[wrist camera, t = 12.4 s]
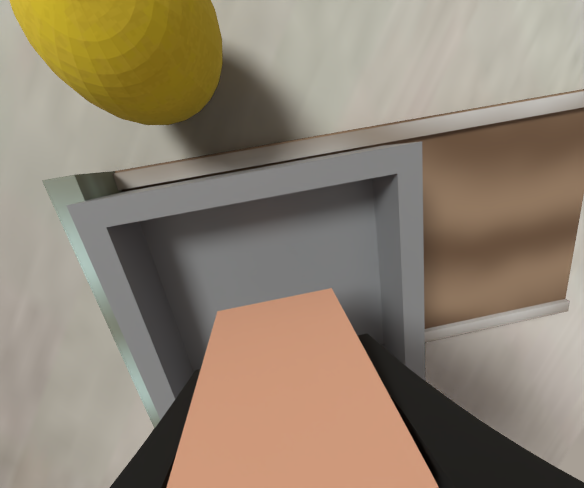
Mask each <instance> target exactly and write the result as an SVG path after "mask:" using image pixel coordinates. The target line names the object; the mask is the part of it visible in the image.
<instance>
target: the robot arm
mask: <svg viewBox="0 0 584 488" xmlns="http://www.w3.org/2000/svg"><path fill="white" fill-rule="evenodd" d="M357 336H358V338H359V340H360V342H361V344H362V345H363V347H364V349H365V351H366V353H367V355H368V357H369V358H370V360H371V362H372V364H373V366H374V368H375V370H376V371H377V373H378V375H379V377H380V379H381V381H382V383H383V384H384V386H385V388H386V390H387V392H388V394H389V396H390V397H391V399H392V401H393V403H394V405H395V407H396V409H397V410H398V412H399V414H400V416H401V418H402V420H403V422H404V423H405V425H406V427H407V429H408V431H409V433H410V435H411V436H412V438H413V440H414V442H415V444H416V446H417V448H418V449H419V451H420V453H421V455H422V457H423V459H424V461H425V462H426V464H427V466H428V468H429V470H430V472H431V474H432V475H433V477H434V479H435V481H436V483H437V485H438V487H439V488H584V483H583V482H582V481H580V480H578V479H576V478H574V477H572V476H571V475H569V474H567V473H565V472H564V471H562V470H560V469H558V468H556V467H555V466H553V465H551V464H549V463H548V462H546V461H544V460H543V459H541V458H539V457H538V456H536V455H534V454H533V453H531V452H529V451H528V450H526V449H524V448H523V447H521V446H519V445H518V444H516V443H515V442H513V441H511V440H510V439H508V438H507V437H505V436H503V435H502V434H500V433H499V432H497V431H495V430H494V429H492V428H491V427H489V426H488V425H486V424H485V423H483V422H482V421H480V420H479V419H477V418H476V417H474V416H473V415H471V414H470V413H468V412H467V411H466V410H464V409H463V408H461V407H460V406H459V405H457V404H456V403H454V402H453V401H451V400H450V399H449V398H447V397H446V396H444V395H443V394H442V393H440V392H439V391H438V390H436V389H435V388H434V387H432V386H431V385H430V384H428V383H427V382H426V381H425V380H423V379H422V378H421V377H419V376H418V375H417V374H416V373H414V372H413V371H412V370H410V369H409V368H408V367H407V366H406V365H404V364H403V363H402V362H401V361H399V360H398V359H397V358H396V357H395V356H393V355H392V354H391V353H390V352H389V351H388V350H386V349H385V348H384V347H383V346H382V345H381V344H379V343H378V342H377V341H376V340H375V339H374V338H373V337H371V336H370V335H369V334H367V333H366V334H362V335H357ZM200 370H201V369H198V370H196V371H195V372H194V373H193V375H192V376H191V378H190V379H189V380H188V382H187V383H186V385H185V386H184V387H183V389H182V390H181V392H180V393H179V395H178V396H177V397H176V399H175V400H174V402H173V403H172V405H171V406H170V407H169V409H168V410H167V412H166V413H165V415H164V416H163V417H162V419H161V420H160V422H159V423H158V424H157V426H156V427H155V428H154V430H153V431H152V433H151V434H150V435H149V437H148V438H147V440H146V441H145V442H144V444H143V445H142V446H141V448H140V449H139V450H138V452H137V453H136V454H135V456H134V457H133V458H132V459H131V461H130V462H129V463H128V465H127V466H126V467H125V469H124V470H123V471H122V472H121V474H120V475H119V476H118V478H117V479H116V480H115V481H114V483H113V484H112V485H111V487H110V488H167V484H168V481H169V477H170V474H171V470H172V467H173V464H174V460H175V457H176V453H177V450H178V446H179V443H180V439H181V436H182V432H183V429H184V425H185V422H186V418H187V415H188V412H189V408H190V405H191V401H192V398H193V394H194V391H195V387H196V384H197V380H198V377H199V373H200Z"/></svg>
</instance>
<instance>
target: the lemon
mask: <svg viewBox="0 0 584 488" xmlns="http://www.w3.org/2000/svg"><path fill="white" fill-rule="evenodd" d="M10 3H11V6H12V9H13V12H14V14H15V17H16V19H17V21H18V22H19V24H20V26H21V28H22V30H23V32H24V33H25V35H26V37H27V39H28V41H29V42H30V44H31V45H32V47H33V48H34V49H35V51H36V52H37V53H38V54H39V55H40V56H41V58H42V59H43V60H44V61H45V62H46V64H47V65H48V66H49V67H50V68H51V70H52V71H53V72H54V73H55V74H56V75H57V76H58V77H59V78H60V79H62V80H63V81H64V82H65V83H66V84H68V85H69V86H70V87H71V88H73V89H74V90H75V91H76V92H77V93H79V94H80V95H81V96H82V97H84V98H85V99H86V100H88V101H89V102H90V103H92V104H94V105H96V106H97V107H99V108H101V109H103V110H105V111H107V112H109V113H111V114H113V115H115V116H117V117H119V118H121V119H125V120H129V121H133V122H137V123H141V124H145V125H170V124H173V123H177V122H181V121H184V120H187V119H188V118H190V117H192V116H193V115H195V114H196V113H198V112H200V111H201V109H202V108H203V107H204V106H205V105H206V104H207V103H208V102H209V101H210V99H211V98H212V96H213V94H214V91H215V89H216V87H217V85H218V83H219V78H220V73H221V69H222V63H223V62H222V37H221V33H220V29H219V25H218V20H217V16H216V12H215V9H214V7H213V4H212V2H211V0H10Z"/></svg>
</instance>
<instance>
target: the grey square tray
mask: <svg viewBox="0 0 584 488" xmlns="http://www.w3.org/2000/svg"><path fill="white" fill-rule="evenodd" d="M66 206H67V208H68V211H69V213H70V215H71V217H72V220H73V222H74V224H75V227H76V229H77V231H78V233H79V236H80V238H81V240H82V243H83V245H84V247H85V249H86V252H87V254H88V256H89V259H90V261H91V263H92V265H93V268H94V270H95V272H96V274H97V277H98V279H99V281H100V284H101V286H102V288H103V290H104V293H105V295H106V297H107V300H108V302H109V304H110V306H111V309H112V311H113V313H114V316H115V318H116V320H117V322H118V325H119V327H120V329H121V332H122V334H123V336H124V338H125V341H126V343H127V345H128V347H129V350H130V352H131V354H132V357H133V359H134V361H135V363H136V366H137V368H138V370H139V373H140V375H141V377H142V379H143V382H144V384H145V386H146V389H147V391H148V393H149V395H150V398H151V400H152V402H153V405H154V407H155V409H156V411H157V414H158V416H159V418H160V420H161V419H162V417H163V416H164V415H165V413H166V412H167V410H168V409H169V407H170V406H171V405H172V403H173V402H174V400H175V399H176V397H177V396H178V395H179V393H180V392H181V390H182V389H183V387H184V386H185V385H186V383H187V382H188V380H189V379H190V378H191V376H192V375H193V373H194V372H195V371H196V370H198V369H201V366H202V363H203V360H204V356H205V353H206V349H207V346H208V342H209V339H210V335H211V332H212V328H213V325H214V321H215V318H216V314H217V311H221V310H226V309H231V308H236V307H241V306H246V305H251V304H256V303H261V302H266V301H270V300H275V299H280V298H285V297H290V296H295V295H300V294H305V293H310V292H315V291H320V290H325V289H329V288H332V290H333V292H334V293H335V295H336V297H337V299H338V301H339V303H340V305H341V306H342V308H343V310H344V312H345V314H346V316H347V318H348V319H349V321H350V323H351V325H352V327H353V329H354V331H355V332H356V334H357V335H362V334H366V333H367V334H369V335H370V336H371V337H373V338H374V339H375V340H376V341H377V342H378V343H379V344H381V345H382V346H383V347H384V348H385V349H386V350H388V351H389V352H390V353H391V354H392V355H393V356H395V357H396V358H397V359H398V360H399V361H401V362H402V363H403V364H404V365H406V366H407V367H408V368H409V369H410V370H412V371H413V372H414V373H416V374H417V375H418V376H419V377H421V378H422V379H423V380H425V322H424V244H423V167H422V142H412V143H403V144H393V145H384V146H378V147H372V148H366V149H361V150H355V151H350V152H344V153H338V154H333V155H327V156H322V157H316V158H311V159H305V160H299V161H294V162H288V163H283V164H277V165H271V166H266V167H260V168H255V169H249V170H243V171H238V172H232V173H227V174H221V175H216V176H210V177H204V178H199V179H193V180H188V181H182V182H176V183H171V184H165V185H160V186H154V187H148V188H143V189H137V190H132V191H126V192H121V193H115V194H111V195H107V196H103V197H99V198H95V199H91V200H86V201H82V202H78V203H74V204H70V205H66Z"/></svg>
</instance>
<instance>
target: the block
mask: <svg viewBox="0 0 584 488" xmlns="http://www.w3.org/2000/svg"><path fill="white" fill-rule="evenodd" d="M167 488H439V487H438V485H437V483H436V481H435V479H434V477H433V475H432V474H431V472H430V470H429V468H428V466H427V464H426V462H425V461H424V459H423V457H422V455H421V453H420V451H419V449H418V448H417V446H416V444H415V442H414V440H413V438H412V436H411V435H410V433H409V431H408V429H407V427H406V425H405V423H404V422H403V420H402V418H401V416H400V414H399V412H398V410H397V409H396V407H395V405H394V403H393V401H392V399H391V397H390V396H389V394H388V392H387V390H386V388H385V386H384V384H383V383H382V381H381V379H380V377H379V375H378V373H377V371H376V370H375V368H374V366H373V364H372V362H371V360H370V358H369V357H368V355H367V353H366V351H365V349H364V347H363V345H362V344H361V342H360V340H359V338H358V336H357V334H356V332H355V331H354V329H353V327H352V325H351V323H350V321H349V319H348V318H347V316H346V314H345V312H344V310H343V308H342V306H341V305H340V303H339V301H338V299H337V297H336V295H335V293H334V292H333V290H332V288H329V289H325V290H320V291H315V292H310V293H305V294H300V295H295V296H290V297H285V298H280V299H275V300H270V301H266V302H261V303H256V304H251V305H246V306H241V307H236V308H231V309H226V310H221V311H217V314H216V318H215V321H214V325H213V328H212V332H211V335H210V339H209V342H208V346H207V349H206V353H205V356H204V360H203V363H202V366H201V370H200V373H199V377H198V380H197V384H196V387H195V391H194V394H193V398H192V401H191V405H190V408H189V412H188V415H187V418H186V422H185V425H184V429H183V432H182V436H181V439H180V443H179V446H178V450H177V453H176V457H175V460H174V464H173V467H172V470H171V474H170V477H169V481H168V484H167Z"/></svg>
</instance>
